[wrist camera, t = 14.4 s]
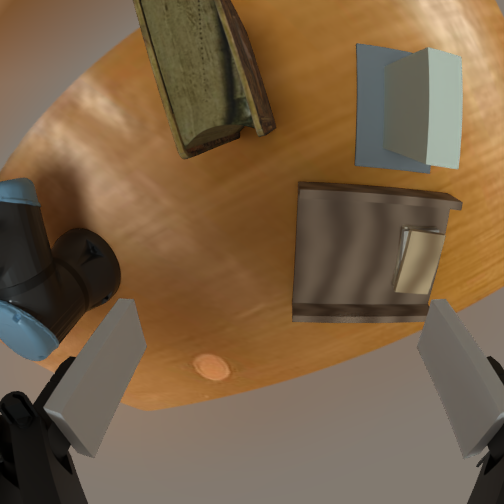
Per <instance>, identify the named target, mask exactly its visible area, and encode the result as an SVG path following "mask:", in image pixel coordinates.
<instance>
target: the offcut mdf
mask: <svg viewBox="0 0 504 504" xmlns="http://www.w3.org/2000/svg"><path fill="white" fill-rule="evenodd" d="M412 229H417V230H424V231H431V232H438V233H439V229H437V228H412ZM408 233H409V229H402V235H401V246H400V256H399V265H398V271H399V268H400V264H401V260H402V257H403V253H404V249H405V245H406V241H407V237H408ZM397 275H398V273H397ZM430 287H431V286H430Z"/></svg>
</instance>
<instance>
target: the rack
mask: <svg viewBox="0 0 504 504" xmlns="http://www.w3.org/2000/svg"><path fill="white" fill-rule="evenodd" d="M462 203H463V202H461V201H460V200H458V199H456V198H454V197H453V196H451V195H449V194H448V193H440V192H431V191H422V190H413V189H403V188H392V187H380V186H368V185H354V184H338V183H319V182H298V207H297V231H296V251H295V269H294V286H293V301H292V322H321V323H394V322H425V321H426V317H427V314H428V311H429V306H428V301H429V297H430V294H431V290H432V287H433V283H434V279H435V276H436V272H437V268H438V264H439V261H438V264H437V268H436V271H435V274H434V277H433V280H432V283H431V287H430V289H429V292H428V294H414V293H400V292H395V291H394V289H393V288H394V287H393V285H392V280H393V275H394V270H395V265H396V260H397V255H398V250H399V244H400V238H401V232H402V226H403V225H412V226H427V227H436V228H438V229H439V233H443V234H444V235H445V232H446V227H447V222H448V217H449V211H450V209H454V210H461V209H462ZM440 256H441V254H440ZM439 260H440V258H439Z"/></svg>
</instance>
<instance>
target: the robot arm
mask: <svg viewBox="0 0 504 504" xmlns="http://www.w3.org/2000/svg"><path fill="white" fill-rule="evenodd" d="M40 207H41V204H40V203H39V202H38V198H37V194H36V190H35V186H34V184H33V182H32V181H31V180H29V179H28V178H18V179H12V180H7V181H2V182H0V339H1V340H2V341H3V342H4V343H5V344H6V345H7V346H8V347H9V348H10V349H12V350H13V351H14V352H16V353H17V354H19V355H20V356H22V357H24V358H26V359H29V360H32V361H41V360H44V359H45V358H47V357H48V356H49V355H50V354H51V353H52V352H53V351H54V350H55V349H56V348H58V346H59V344H60V343H61V342H62V340H63V339H64V338H65V337H66V335H67V334H68V333H69V332H70V330H71V329H72V328H73V327H74V326H75V324H76V323H77V322H78V321H79V319H80V318H81V317H82V316H83V315H84V314H85V312H86V311H89V310H91V309H93V308H95V307H98V306H100V305H102V304H104V303H106V302H107V301H108V300H109V299H110V298H111V297H112V296H113V295H114V294H115V293H116V291H117V289H118V287H119V284H120V268H119V264H118V261H117V259H116V257H115V255H114V253H113V251H112V250H111V248H110V247H109V246H108V244H107V243H106V242H105V241H104V240H103V239H102V238H101V237H99V236H98V235H97V234H95V233H93V232H91V231H89V230H86V229H72V230H70V231H68V232H66V233H65V234H63V235H62V236H61V237H59V238H58V239H57V241H56V242H55V244H54V246H53V248H52V249H51V248H50V245H49V241H48V237H47V234H46V230H45V226H44V222H43V218H42V214H41V210H40ZM146 347H147V345H146V342H145V339H144V335H143V332H142V328H141V324H140V321H139V317H138V313H137V309H136V306H135V302H134V299H120V298H119V299H118V301H117V302H116V303H115V305H114V306H113V307H112V309H111V310H110V311H109V313H108V314H107V315H106V317H105V318H104V319H103V321H102V322H101V323H100V325H99V326H98V328H97V329H96V330H95V332H94V333H93V334H92V336H91V337H90V339H89V340H88V341H87V343H86V344H85V346H84V347H83V349H82V350H81V351H80V353H79V354H78V356H77V357H72V356H70V357H69V358H68V359H66V360H65V361H64V362H62V363H61V364H60V366H59V367H58V369H57V370H56V372H55V374H54V375H53V376H52V377H51V379H50V382H48V383H47V385H46V386H45V388H44V389H43V390H42V392H41V393H40V395H39V396H38V398H37V400H36V401H35V402H34V404H32V403H31V401H30V400H29V398H28V397H27V395H25V394H24V393H23V392H20V391H14V392H11V393H9V394H6V395H5V396H4V397H3V398H2V400H1V401H0V412H1V414H2V415H0V504H88V502H87V500H86V497H85V495H84V492H83V489H82V487H81V484H80V481H79V478H78V476H77V473H76V470H75V467H74V464H73V461H72V458H71V455H70V453H69V451H68V449H69V447H70V445H72V447H73V448H74V449H75V450H76V451H77V453H80V454H83V455H86V456H89V457H92V458H95V455H96V453H97V451H98V449H99V446H100V444H101V442H102V439H103V437H104V435H105V433H106V431H107V429H108V426H109V424H110V422H111V420H112V418H113V416H114V413H115V411H116V409H117V407H118V405H119V403H120V401H121V398H122V396H123V394H124V392H125V390H126V388H127V386H128V384H129V382H130V380H131V378H132V376H133V374H134V372H135V369H136V367H137V365H138V363H139V361H140V359H141V357H142V355H143V353H144V351H145V349H146ZM417 349H418V351H419V353H420V355H421V357H422V359H423V361H424V364H425V366H426V368H427V370H428V372H429V374H430V377H431V379H432V381H433V383H434V385H435V388H436V390H437V392H438V395H439V397H440V399H441V401H442V404H443V406H444V409H445V411H446V414H447V416H448V419H449V421H450V424H451V426H452V429H453V431H454V434H455V437H456V439H457V442H458V444H459V447H460V450H461V453H462V456H463V458H464V459H465V458H469V457H471V456H474V455H477V454H479V453H480V452H481V451H482V450H483V449H484V448H485V447H486V446H488V448H489V452H488V453H487V454H486V455H485V456H484V457H483V458H482V460H480V461H479V462H478V464H477V466H476V467H479V466H480V465H481V464H482V463H483V465H482V468H481V471H480V474H479V476H478V479H477V482H476V484H475V486H474V489H473V491H472V493H471V496H470V498H469V500H468V503H467V504H504V370H503V368H502V366H501V365H500V364H499V363H498V362H497V361H496V360H495V359H493V358H492V357H491V356H489V357H486V356H485V355H484V353H483V352H482V350H481V349H480V348H479V346H478V344H477V343H476V341H475V340H474V338H473V337H472V335H471V334H470V332H469V331H468V329H467V328H466V327H465V325H464V324H463V322H462V321H461V320H460V318H459V317H458V315H457V314H456V313H455V311H454V310H453V309H452V307H451V306H450V305H449V303H448V302H447V301H446V299H436V300H431V304H430V307H429V311H428V314H427V317H426V321H425V324H424V327H423V330H422V333H421V336H420V339H419V342H418V345H417Z"/></svg>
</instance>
